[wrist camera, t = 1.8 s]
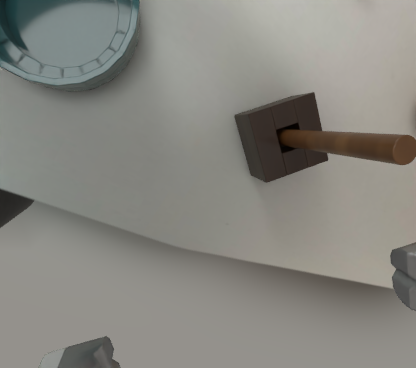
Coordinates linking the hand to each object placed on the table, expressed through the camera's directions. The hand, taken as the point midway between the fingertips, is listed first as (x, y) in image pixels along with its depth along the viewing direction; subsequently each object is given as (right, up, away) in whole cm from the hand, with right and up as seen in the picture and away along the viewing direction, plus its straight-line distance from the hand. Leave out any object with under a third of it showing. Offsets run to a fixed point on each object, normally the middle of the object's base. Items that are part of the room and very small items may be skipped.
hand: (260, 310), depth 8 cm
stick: (+6, +9, +29) cm, 31 cm away
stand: (+6, +9, +29) cm, 31 cm away
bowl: (-16, +20, +22) cm, 34 cm away
